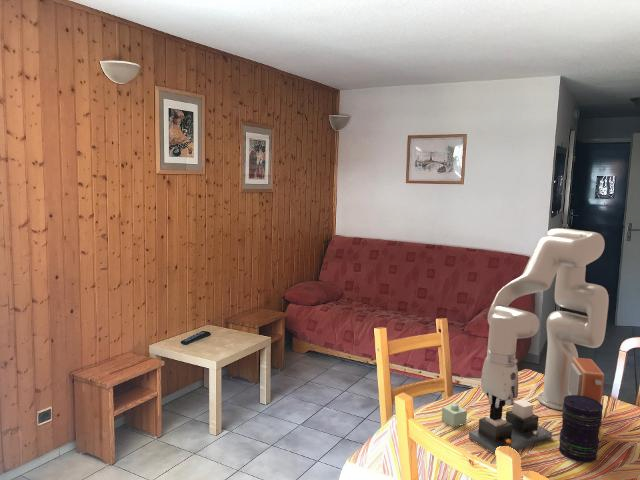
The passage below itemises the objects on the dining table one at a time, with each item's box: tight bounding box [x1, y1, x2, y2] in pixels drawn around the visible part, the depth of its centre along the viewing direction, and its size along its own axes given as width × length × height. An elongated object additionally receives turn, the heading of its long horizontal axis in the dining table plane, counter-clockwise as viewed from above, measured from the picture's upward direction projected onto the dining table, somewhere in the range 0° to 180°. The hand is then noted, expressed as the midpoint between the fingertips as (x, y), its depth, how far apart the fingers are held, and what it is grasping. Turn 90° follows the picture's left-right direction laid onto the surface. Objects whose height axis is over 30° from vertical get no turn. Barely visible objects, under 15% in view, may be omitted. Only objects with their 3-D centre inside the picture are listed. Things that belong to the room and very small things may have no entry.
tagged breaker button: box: [485, 414, 506, 427], centre depth 152 cm, size 4×4×5 cm
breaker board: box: [468, 409, 553, 455], centre depth 154 cm, size 22×11×6 cm, turn 119°
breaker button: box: [511, 399, 534, 419], centre depth 157 cm, size 4×4×5 cm
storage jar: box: [558, 395, 604, 464], centre depth 147 cm, size 10×10×15 cm
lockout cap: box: [441, 402, 468, 428], centre depth 164 cm, size 5×5×6 cm
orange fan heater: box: [568, 357, 605, 404], centre depth 158 cm, size 21×7×15 cm
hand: (495, 418), depth 152 cm, fingers closed
